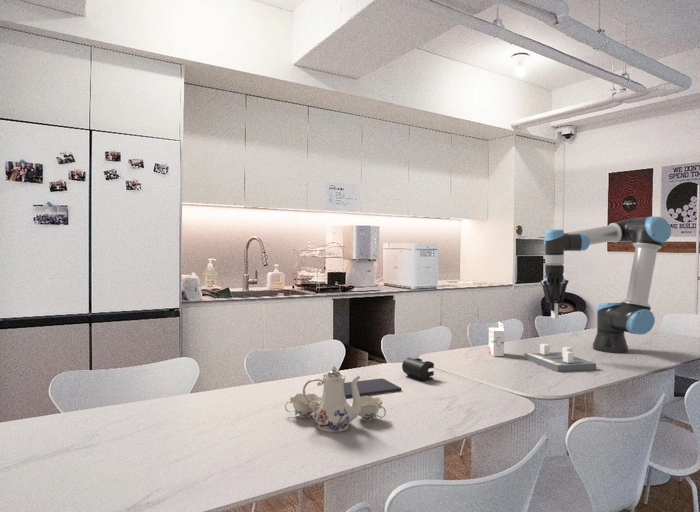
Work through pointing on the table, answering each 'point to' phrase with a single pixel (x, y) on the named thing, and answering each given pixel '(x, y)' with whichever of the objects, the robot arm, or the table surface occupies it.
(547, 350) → the tab
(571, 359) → the tab
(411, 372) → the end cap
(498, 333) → the ink cartridge box
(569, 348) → the tab
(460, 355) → the table surface
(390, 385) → the notebook
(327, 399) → the chinaware
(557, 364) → the switch panel
